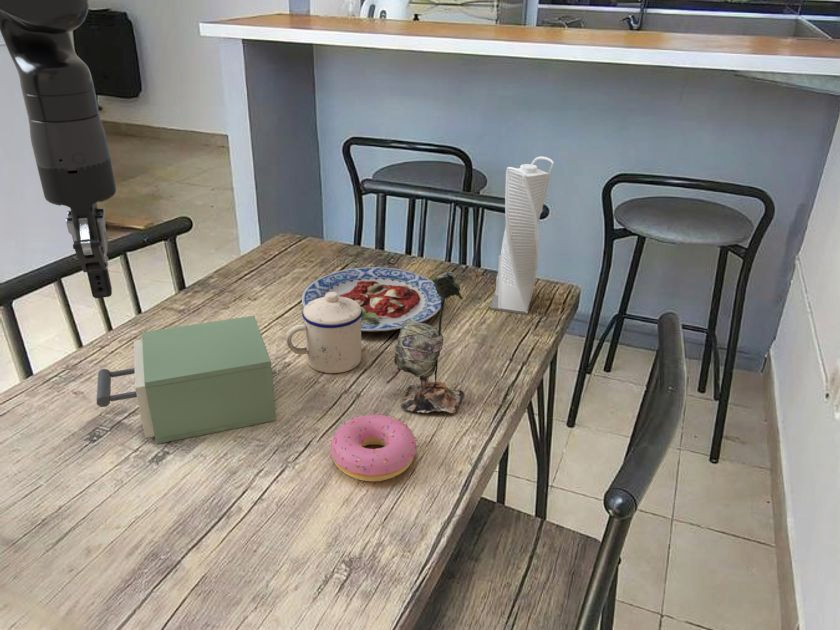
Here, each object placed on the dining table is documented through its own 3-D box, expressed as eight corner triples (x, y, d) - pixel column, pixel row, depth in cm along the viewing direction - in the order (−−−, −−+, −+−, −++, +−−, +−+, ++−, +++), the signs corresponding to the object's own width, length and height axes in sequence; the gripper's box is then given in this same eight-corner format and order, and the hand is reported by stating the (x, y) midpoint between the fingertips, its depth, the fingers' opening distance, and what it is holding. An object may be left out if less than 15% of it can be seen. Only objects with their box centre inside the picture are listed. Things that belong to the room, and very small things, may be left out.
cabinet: (156, 444, 89) (144, 382, 84) (152, 389, 100) (141, 331, 95) (276, 420, 94) (270, 361, 89) (259, 370, 105) (254, 315, 101)
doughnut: (326, 437, 91) (325, 412, 89) (406, 428, 93) (407, 402, 91) (336, 493, 81) (334, 466, 79) (425, 481, 84) (426, 454, 82)
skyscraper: (539, 299, 129) (556, 152, 116) (534, 318, 122) (552, 164, 109) (495, 293, 131) (507, 148, 118) (488, 312, 124) (500, 160, 111)
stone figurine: (403, 376, 104) (405, 256, 95) (471, 396, 100) (480, 272, 91) (377, 403, 98) (376, 277, 89) (449, 426, 94) (455, 295, 84)
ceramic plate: (347, 267, 140) (347, 254, 139) (464, 293, 131) (465, 279, 130) (273, 320, 119) (272, 305, 118) (405, 355, 110) (406, 339, 109)
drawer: (103, 446, 87) (91, 395, 83) (105, 393, 97) (94, 346, 93) (258, 416, 93) (253, 367, 90) (244, 370, 103) (239, 324, 100)
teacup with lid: (351, 341, 114) (349, 277, 108) (371, 367, 106) (370, 301, 101) (280, 355, 109) (275, 289, 104) (296, 384, 102) (291, 315, 96)
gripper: (41, 144, 81) (72, 278, 89) (29, 175, 70) (66, 323, 78) (110, 140, 83) (134, 270, 91) (108, 169, 72) (136, 314, 80)
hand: (102, 295), depth 84 cm, fingers closed
